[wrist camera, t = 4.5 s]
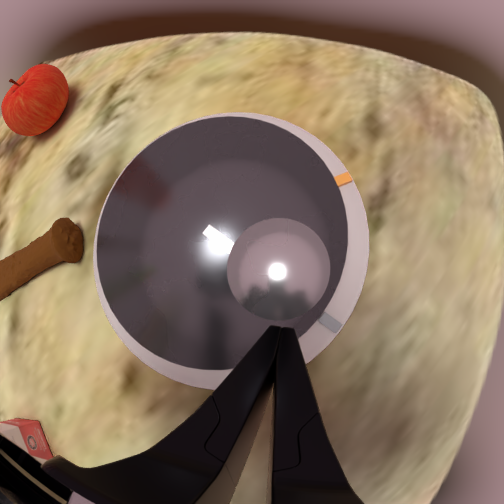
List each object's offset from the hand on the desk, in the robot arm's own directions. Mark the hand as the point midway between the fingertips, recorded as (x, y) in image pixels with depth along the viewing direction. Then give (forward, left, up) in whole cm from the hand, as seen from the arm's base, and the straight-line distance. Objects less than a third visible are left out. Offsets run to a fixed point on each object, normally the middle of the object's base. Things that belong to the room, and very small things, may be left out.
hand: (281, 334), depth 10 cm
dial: (+6, +2, -6) cm, 9 cm away
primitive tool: (+12, +22, -8) cm, 26 cm away
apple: (+28, +15, -7) cm, 33 cm away
